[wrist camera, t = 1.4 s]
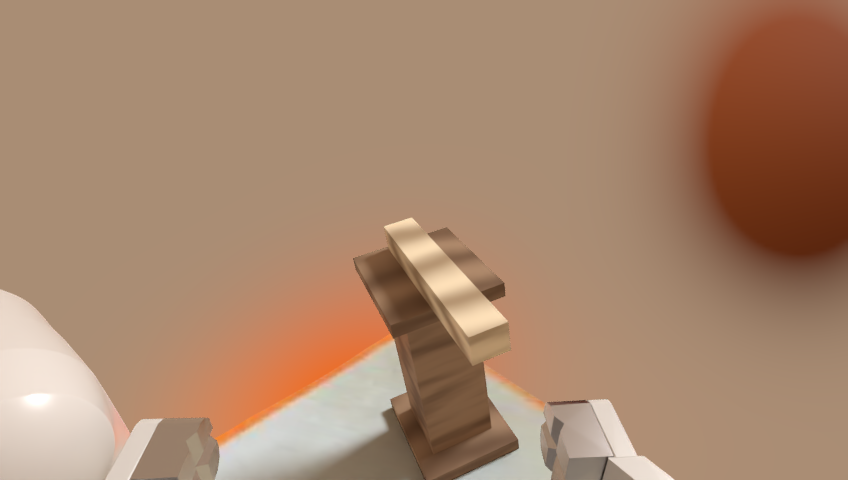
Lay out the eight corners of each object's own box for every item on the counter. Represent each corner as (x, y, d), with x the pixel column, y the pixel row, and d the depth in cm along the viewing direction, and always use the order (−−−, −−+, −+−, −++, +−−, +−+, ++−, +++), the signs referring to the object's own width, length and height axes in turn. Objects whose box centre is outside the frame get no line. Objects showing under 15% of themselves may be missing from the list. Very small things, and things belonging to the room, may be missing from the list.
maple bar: (510, 350, 40) (508, 321, 39) (472, 365, 40) (468, 337, 38) (416, 239, 59) (412, 217, 57) (388, 248, 58) (383, 226, 56)
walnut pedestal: (518, 447, 61) (504, 282, 49) (429, 490, 58) (390, 325, 46) (468, 375, 73) (446, 227, 60) (392, 407, 70) (353, 258, 57)
